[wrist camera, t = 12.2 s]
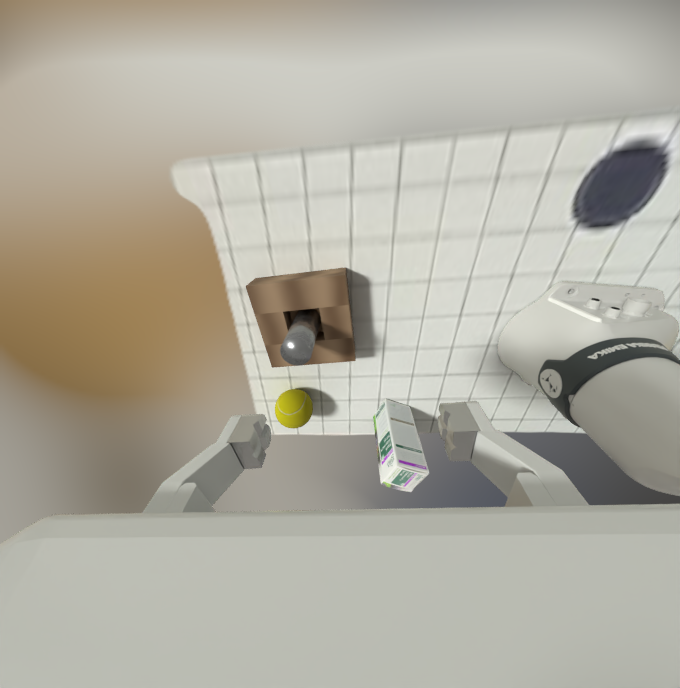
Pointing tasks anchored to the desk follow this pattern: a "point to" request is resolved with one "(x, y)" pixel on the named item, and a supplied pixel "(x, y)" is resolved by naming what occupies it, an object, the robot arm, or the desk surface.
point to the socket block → (298, 294)
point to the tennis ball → (293, 408)
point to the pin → (301, 337)
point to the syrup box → (398, 447)
